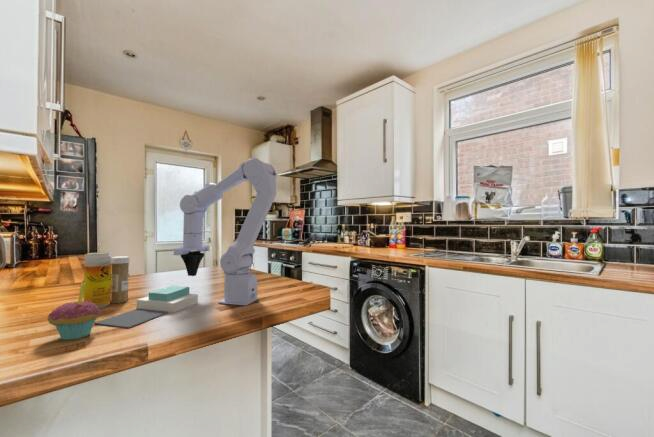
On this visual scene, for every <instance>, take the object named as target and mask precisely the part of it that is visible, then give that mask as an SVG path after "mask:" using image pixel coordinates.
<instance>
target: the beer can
mask: <svg viewBox="0 0 654 437" xmlns="http://www.w3.org/2000/svg"><path fill="white" fill-rule="evenodd" d="M111 258H112V255H111V254H110V252H106V251H104V252H99V251H98V252H88V253H85V256H84V258H83V261H84V262H83V264H84V265H83V280H84V284H85V286H84V292H83V301H90V302H91V303H95V304H96V305H98V306H99V308H100V309H102V308H106V307H108V306H109V304H110V303H111V270H112V265H111Z"/></svg>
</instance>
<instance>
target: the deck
mask: <svg viewBox="0 0 654 437" xmlns="http://www.w3.org/2000/svg"><path fill="white" fill-rule="evenodd" d="M198 300H199V295H198V294H194V293H189V294H187V295H184V296H181V297H178V298H176V299H173V300H170V301H157V300H149V295H148V296H145V297H141V298H138V299H136V306H135V307H136V309H147V310H156V311H166V312H169V313H173V314H174V313H175V312H179V311H181V310H184V309H186V308H188V307H191V306H194V305H196V304H198V303H199V301H198Z"/></svg>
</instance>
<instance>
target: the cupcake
mask: <svg viewBox="0 0 654 437" xmlns="http://www.w3.org/2000/svg"><path fill="white" fill-rule="evenodd" d="M84 286H85V284H84V279H83V280H82V282H81V283H80V288H79V294H78V301H73V302H71V301H70V302H67V303H65V304H61V305H59V306H58V307H56V308H55V309H53V310H52V311H51V312H50V313H49V314H48V316H47V321H48V323H49V324H50V325H52V326H55V327H56V329H57V331H58V334H59V337H60V339H61V340H64V341H70V340H76V339H81V338H85V337H87V336H88V335H89V336H90V334H91V331H92V328H93V327H94V325H95V324H94V323H95V322H96V320H97V319H98V318H99V317H100V315H101V308H99V306H98V305H96V304H95V303H91V302H90V301H84Z"/></svg>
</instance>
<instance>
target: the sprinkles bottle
mask: <svg viewBox="0 0 654 437" xmlns="http://www.w3.org/2000/svg"><path fill="white" fill-rule="evenodd" d="M129 263H130V256H126V255H125V256H124V255H120V256H111V302H110V303H112V304H121V303H125V302H128V301H129V277H130V276H129V275H130V274H129Z"/></svg>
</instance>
